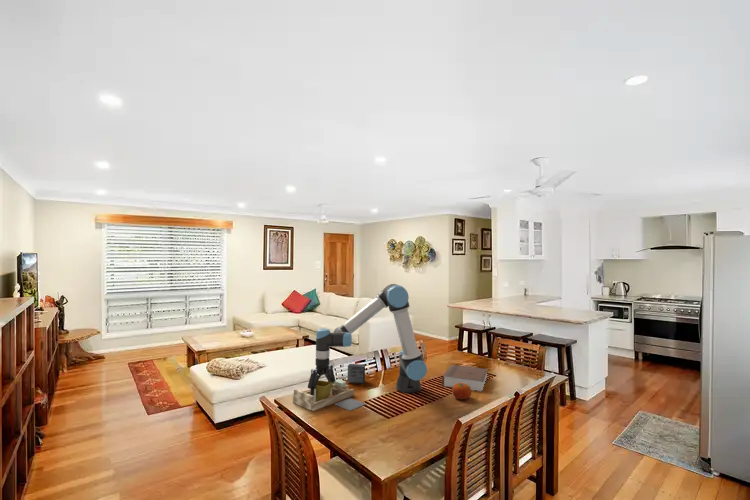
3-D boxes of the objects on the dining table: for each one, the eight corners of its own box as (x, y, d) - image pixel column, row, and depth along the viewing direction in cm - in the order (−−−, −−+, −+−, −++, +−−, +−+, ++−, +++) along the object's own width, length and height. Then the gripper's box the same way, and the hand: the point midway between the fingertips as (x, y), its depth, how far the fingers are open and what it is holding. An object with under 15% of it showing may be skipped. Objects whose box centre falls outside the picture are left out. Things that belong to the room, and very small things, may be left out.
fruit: (458, 393, 222) (459, 379, 222) (474, 398, 214) (474, 384, 214) (448, 398, 214) (448, 383, 214) (464, 403, 207) (464, 388, 207)
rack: (354, 395, 215) (354, 383, 215) (312, 411, 192) (313, 397, 192) (334, 388, 226) (334, 376, 226) (292, 402, 203) (293, 389, 203)
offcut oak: (348, 389, 217) (348, 385, 217) (344, 391, 213) (344, 387, 213) (334, 386, 222) (334, 382, 222) (330, 388, 218) (330, 384, 218)
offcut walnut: (349, 395, 215) (349, 390, 215) (344, 397, 212) (344, 392, 212) (333, 391, 223) (334, 385, 223) (329, 392, 219) (329, 387, 219)
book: (442, 386, 234) (442, 376, 234) (450, 374, 260) (451, 364, 260) (483, 392, 225) (483, 381, 225) (487, 379, 251) (487, 369, 251)
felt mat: (366, 404, 202) (366, 403, 202) (350, 411, 193) (350, 410, 193) (349, 398, 210) (349, 397, 210) (334, 404, 201) (334, 404, 201)
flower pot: (332, 398, 210) (332, 381, 210) (325, 403, 202) (325, 387, 202) (318, 396, 213) (318, 379, 213) (310, 401, 205) (310, 384, 205)
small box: (365, 380, 241) (365, 364, 242) (363, 384, 235) (364, 367, 235) (348, 379, 242) (349, 363, 243) (347, 383, 236) (347, 366, 236)
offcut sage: (346, 385, 216) (346, 381, 216) (341, 387, 214) (341, 383, 214) (338, 382, 221) (338, 379, 221) (333, 384, 219) (333, 380, 219)
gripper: (333, 352, 219) (332, 390, 219) (301, 360, 202) (300, 402, 201) (342, 355, 214) (341, 394, 214) (310, 363, 197) (309, 405, 196)
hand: (321, 398), depth 208 cm, fingers open, 11 cm apart
